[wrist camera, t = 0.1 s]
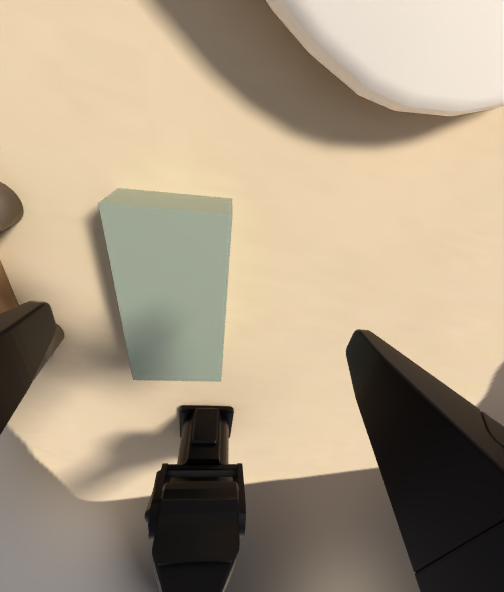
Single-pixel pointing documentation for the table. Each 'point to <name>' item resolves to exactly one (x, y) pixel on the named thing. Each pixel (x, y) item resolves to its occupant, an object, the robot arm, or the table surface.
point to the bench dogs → (3, 213)
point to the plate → (407, 50)
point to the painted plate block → (170, 280)
